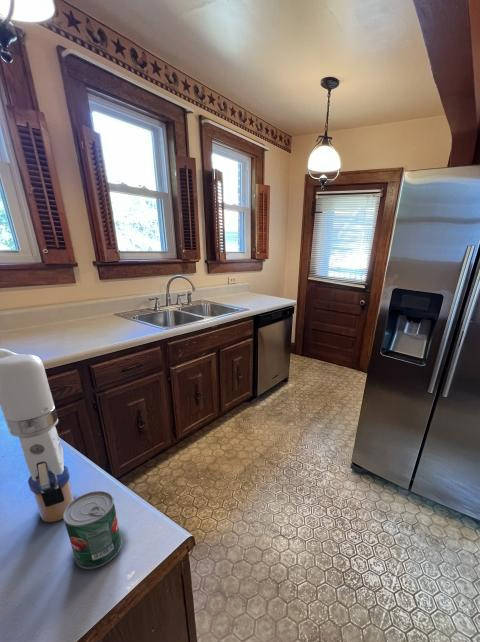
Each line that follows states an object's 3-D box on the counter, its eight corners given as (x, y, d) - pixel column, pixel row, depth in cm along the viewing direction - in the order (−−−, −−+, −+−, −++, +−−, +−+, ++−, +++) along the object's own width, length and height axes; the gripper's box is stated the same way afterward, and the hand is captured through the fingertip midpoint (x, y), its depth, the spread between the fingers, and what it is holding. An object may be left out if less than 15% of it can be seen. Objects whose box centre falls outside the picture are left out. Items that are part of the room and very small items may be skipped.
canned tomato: (65, 560, 58) (51, 516, 54) (100, 526, 65) (91, 485, 60) (97, 575, 55) (86, 531, 51) (131, 539, 62) (123, 498, 58)
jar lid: (33, 475, 66) (31, 469, 65) (71, 467, 69) (69, 461, 68) (26, 498, 60) (24, 491, 60) (68, 487, 64) (66, 481, 63)
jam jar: (40, 526, 64) (30, 493, 60) (40, 506, 68) (31, 474, 65) (76, 514, 67) (68, 482, 64) (74, 495, 72) (66, 464, 68)
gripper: (56, 436, 54) (78, 512, 61) (56, 396, 68) (74, 462, 75) (1, 449, 51) (30, 529, 57) (12, 404, 64) (35, 473, 71)
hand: (55, 491), depth 66 cm, fingers closed on jar lid, 6 cm apart
